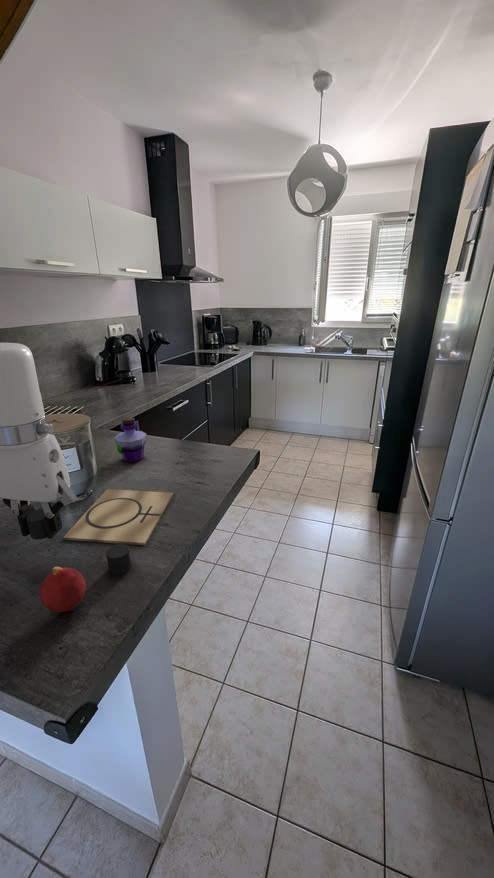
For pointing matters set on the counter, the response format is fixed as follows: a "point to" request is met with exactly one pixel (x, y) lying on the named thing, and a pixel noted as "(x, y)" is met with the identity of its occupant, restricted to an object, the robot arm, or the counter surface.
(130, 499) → the board
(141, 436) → the potion bottle
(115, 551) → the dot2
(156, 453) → the counter surface
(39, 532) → the dot
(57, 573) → the onion
